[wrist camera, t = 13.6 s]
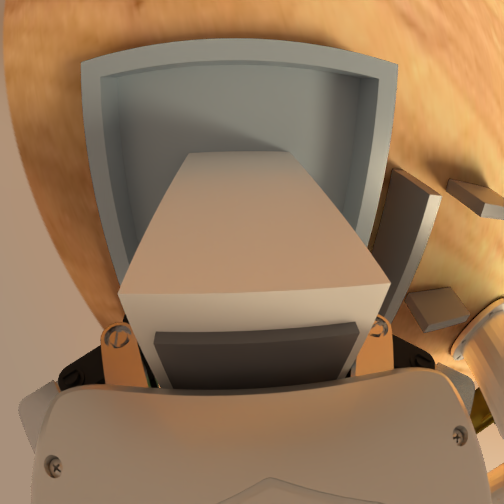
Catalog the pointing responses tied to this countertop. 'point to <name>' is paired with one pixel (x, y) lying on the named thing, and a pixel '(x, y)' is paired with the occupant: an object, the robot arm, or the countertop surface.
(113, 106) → the tray
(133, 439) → the robot arm
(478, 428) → the cooking pot
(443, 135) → the countertop surface
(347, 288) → the grey-panelled white block
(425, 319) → the dock
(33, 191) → the countertop surface
